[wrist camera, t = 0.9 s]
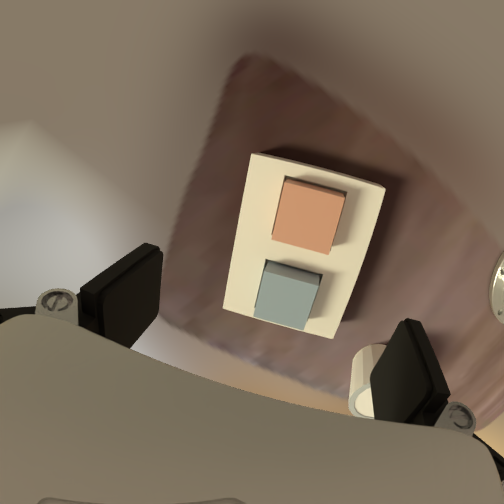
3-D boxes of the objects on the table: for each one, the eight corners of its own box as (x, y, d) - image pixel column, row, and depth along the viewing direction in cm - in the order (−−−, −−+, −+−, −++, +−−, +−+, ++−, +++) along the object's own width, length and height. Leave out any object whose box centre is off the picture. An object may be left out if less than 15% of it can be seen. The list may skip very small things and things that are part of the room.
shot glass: (383, 329, 32) (392, 369, 25) (409, 362, 32) (419, 402, 26) (336, 359, 34) (335, 400, 28) (365, 388, 35) (367, 428, 29)
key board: (379, 184, 26) (385, 189, 24) (332, 323, 33) (332, 338, 30) (258, 152, 28) (251, 153, 25) (231, 295, 34) (222, 308, 32)
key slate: (319, 274, 28) (318, 285, 26) (305, 317, 30) (303, 330, 28) (268, 260, 29) (263, 270, 27) (258, 304, 31) (253, 316, 29)
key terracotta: (343, 193, 25) (344, 198, 23) (328, 245, 27) (328, 255, 25) (287, 178, 26) (284, 182, 24) (275, 231, 28) (271, 239, 26)
